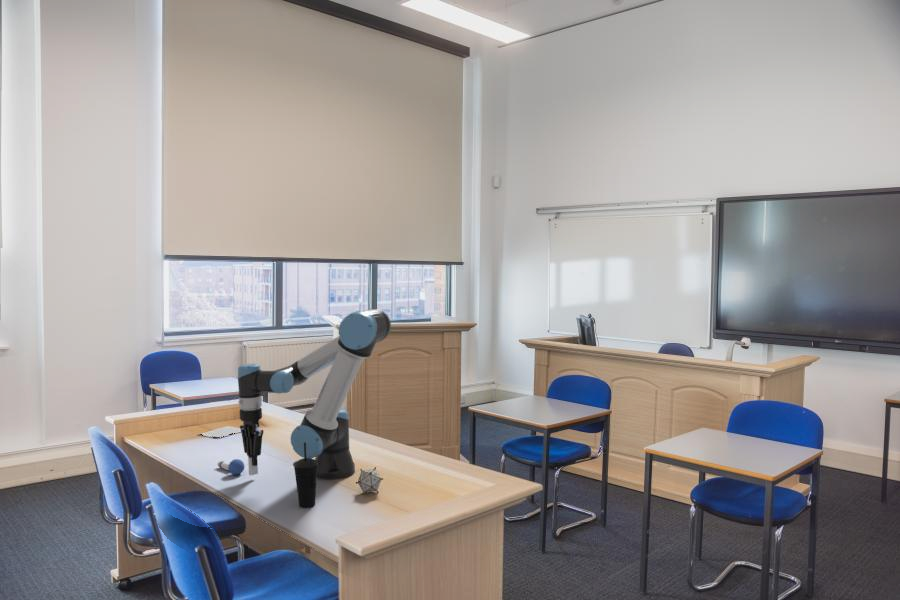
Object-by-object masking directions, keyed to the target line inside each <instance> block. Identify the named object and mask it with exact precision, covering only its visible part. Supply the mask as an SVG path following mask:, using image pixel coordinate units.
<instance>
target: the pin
mask: <svg viewBox="0 0 900 600" xmlns="http://www.w3.org/2000/svg"><path fill="white" fill-rule="evenodd" d="M229 464H230V462H229V463H228V462H226V461H224V460H219V461H218V462H217V466H218V467H219V468H220V469H223V470H226V471H227V472H230V471H229V468H228V467H229Z"/></svg>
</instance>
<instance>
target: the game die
mask: <svg viewBox="0 0 900 600" xmlns="http://www.w3.org/2000/svg"><path fill="white" fill-rule="evenodd" d="M376 469H377V466H374V469H373V468H372V469H365V470H363V468H360V471H361V472H360V473H359V477H358V481H356V482H355V484H356V485H359V487H360V489H361V491H362V496H364V495H365V494H366V493H367V494H368V493H373V492H374V493H375V492H376V493H378V494H379V491H378V490H379V487H380V484H381V481H383V480H384V478H383V477H382V478H381V476H380V474H379V473H378V471H377V470H376Z"/></svg>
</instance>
